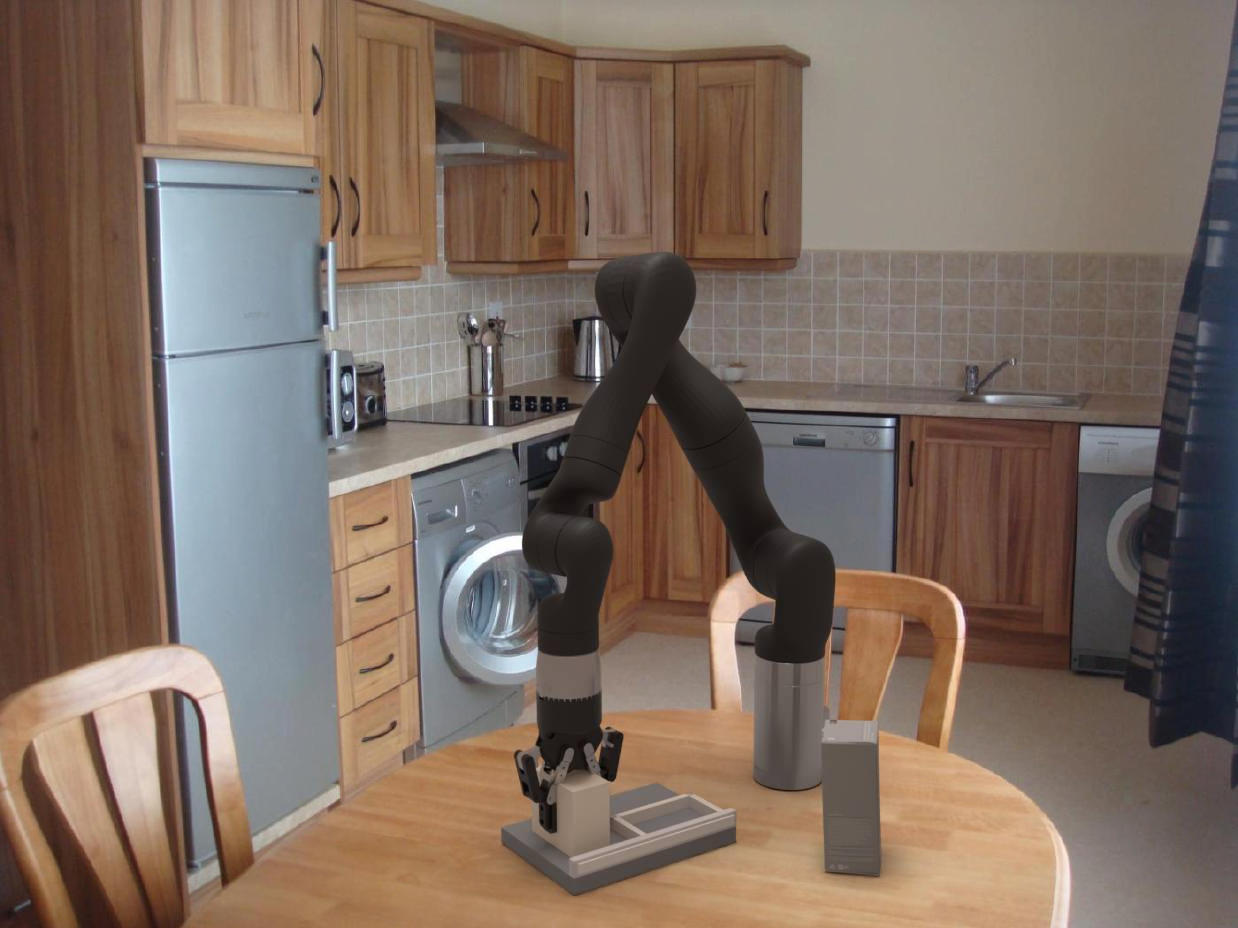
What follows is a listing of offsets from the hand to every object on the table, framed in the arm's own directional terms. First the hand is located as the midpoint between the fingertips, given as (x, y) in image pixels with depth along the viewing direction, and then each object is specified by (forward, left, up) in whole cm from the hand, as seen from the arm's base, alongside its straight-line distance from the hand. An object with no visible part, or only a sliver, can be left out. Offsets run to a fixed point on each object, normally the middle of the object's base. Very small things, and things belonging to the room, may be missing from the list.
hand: (570, 823), depth 159 cm
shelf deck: (-6, +1, -4) cm, 7 cm away
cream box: (0, 0, -2) cm, 2 cm away
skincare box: (-26, +20, -4) cm, 33 cm away
